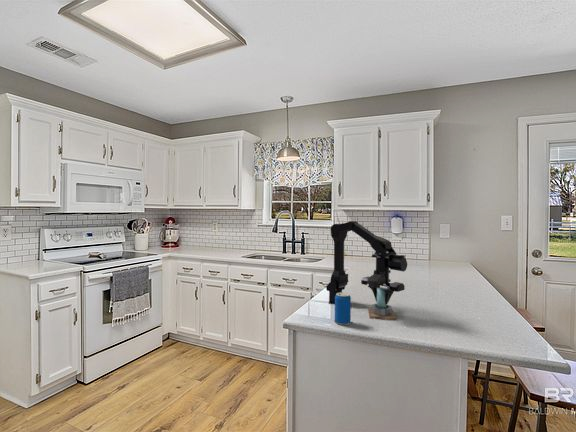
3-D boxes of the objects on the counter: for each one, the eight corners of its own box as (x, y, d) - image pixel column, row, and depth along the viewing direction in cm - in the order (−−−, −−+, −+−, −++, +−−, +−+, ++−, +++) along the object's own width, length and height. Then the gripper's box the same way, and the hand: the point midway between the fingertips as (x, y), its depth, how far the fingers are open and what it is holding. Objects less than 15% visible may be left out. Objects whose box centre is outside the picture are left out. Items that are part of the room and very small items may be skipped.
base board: (369, 318, 140) (369, 316, 140) (368, 310, 151) (368, 308, 151) (396, 320, 138) (396, 317, 138) (392, 312, 149) (392, 310, 149)
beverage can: (339, 319, 139) (340, 291, 139) (353, 322, 135) (353, 293, 135) (331, 323, 134) (332, 294, 134) (345, 326, 130) (345, 297, 130)
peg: (376, 312, 143) (377, 289, 143) (376, 309, 147) (376, 287, 147) (387, 312, 142) (387, 290, 142) (386, 309, 147) (386, 287, 146)
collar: (372, 315, 141) (372, 308, 141) (371, 309, 150) (371, 303, 150) (392, 316, 140) (392, 309, 140) (390, 310, 148) (390, 304, 148)
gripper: (354, 267, 146) (353, 301, 146) (391, 273, 132) (390, 311, 132) (368, 264, 153) (368, 297, 154) (405, 270, 139) (404, 306, 140)
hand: (381, 302), depth 145 cm, fingers closed on peg, 4 cm apart
